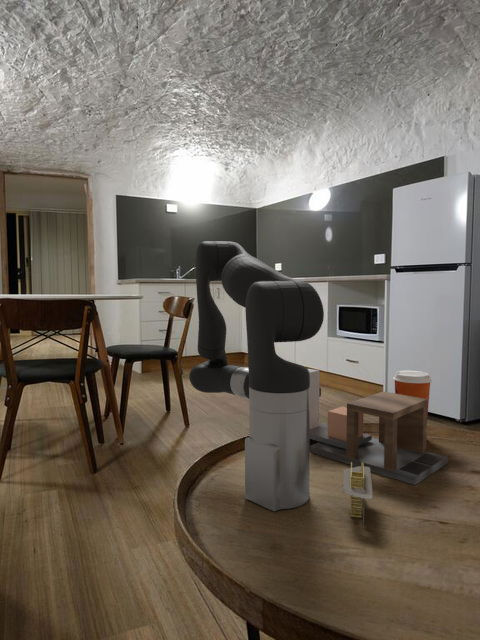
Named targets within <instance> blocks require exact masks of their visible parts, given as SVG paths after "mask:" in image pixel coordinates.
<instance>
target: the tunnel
mask: <svg viewBox="0 0 480 640" xmlns="http://www.w3.org/2000/svg"><path fill="white" fill-rule="evenodd" d="M346 407H347V445H346V449H344V448H340V447H337V446H333V445H330V444H326V443H323V442H319V441H318V442H317V443H314V444H311V445H310V448H309V453H311V454H315V455H319V456H322V457H325V458H327V459H331V460H334V461H337V462H340V463H343V464H347V465H350V466H351V462H352V467H358V466H361V463H362V466H364V467H370V472H373V473H375V474H379V475H382V476H385V477H387V478H391V479H395V480H397V481H400V482H404V483H407V484H410V485H413V486H415V485H417V484H418V483H420V482H422V481H423V480H425V479H426V478H428V477H429V476H431V475H432V474H434V473H435V472H437V471H439V469H442V468H443V467H444V466H446V465H447V464H448V463H449V459H448V458H449V457H448V456H446V455H442V454H438V453H434V452H430V451H427V440H428V439H427V438H428V437H427V436H428V435H427V434H428V431H427V429H428V425H427V424H428V416H427V399H424V398H418V397H412V396H406V395H401V394H395V392H388V391H381V392H378V393H377V392H376V393H374V394H371V395H368V396H365V397H362V398H359V399H356V400H353V401H349V402H346ZM359 413H364V415H369V416H373V417H378V438H375V437H372V440H371V441H368V442H366V443H364V444H362V445H360V446H358V417H359Z"/></svg>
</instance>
